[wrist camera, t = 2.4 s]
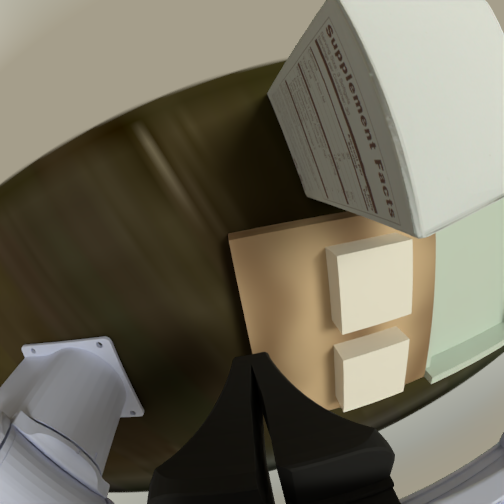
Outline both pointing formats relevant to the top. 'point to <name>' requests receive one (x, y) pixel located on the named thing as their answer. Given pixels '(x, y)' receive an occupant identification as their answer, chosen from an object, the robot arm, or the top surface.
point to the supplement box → (397, 110)
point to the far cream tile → (370, 368)
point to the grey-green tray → (467, 292)
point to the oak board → (318, 297)
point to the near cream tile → (370, 281)
